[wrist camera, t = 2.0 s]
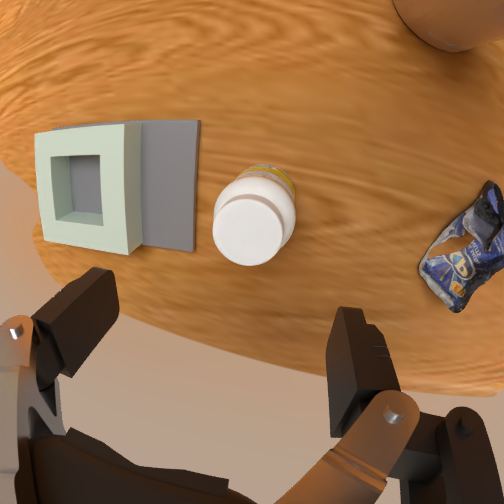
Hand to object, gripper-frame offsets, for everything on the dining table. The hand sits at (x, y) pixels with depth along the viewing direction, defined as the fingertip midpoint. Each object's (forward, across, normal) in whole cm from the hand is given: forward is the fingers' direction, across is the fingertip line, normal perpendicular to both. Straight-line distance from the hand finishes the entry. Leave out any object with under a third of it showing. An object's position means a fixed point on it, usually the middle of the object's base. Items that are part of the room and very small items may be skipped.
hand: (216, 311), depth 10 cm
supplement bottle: (+17, 0, 0) cm, 17 cm away
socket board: (+17, +14, 0) cm, 22 cm away
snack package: (+17, -21, 0) cm, 27 cm away
